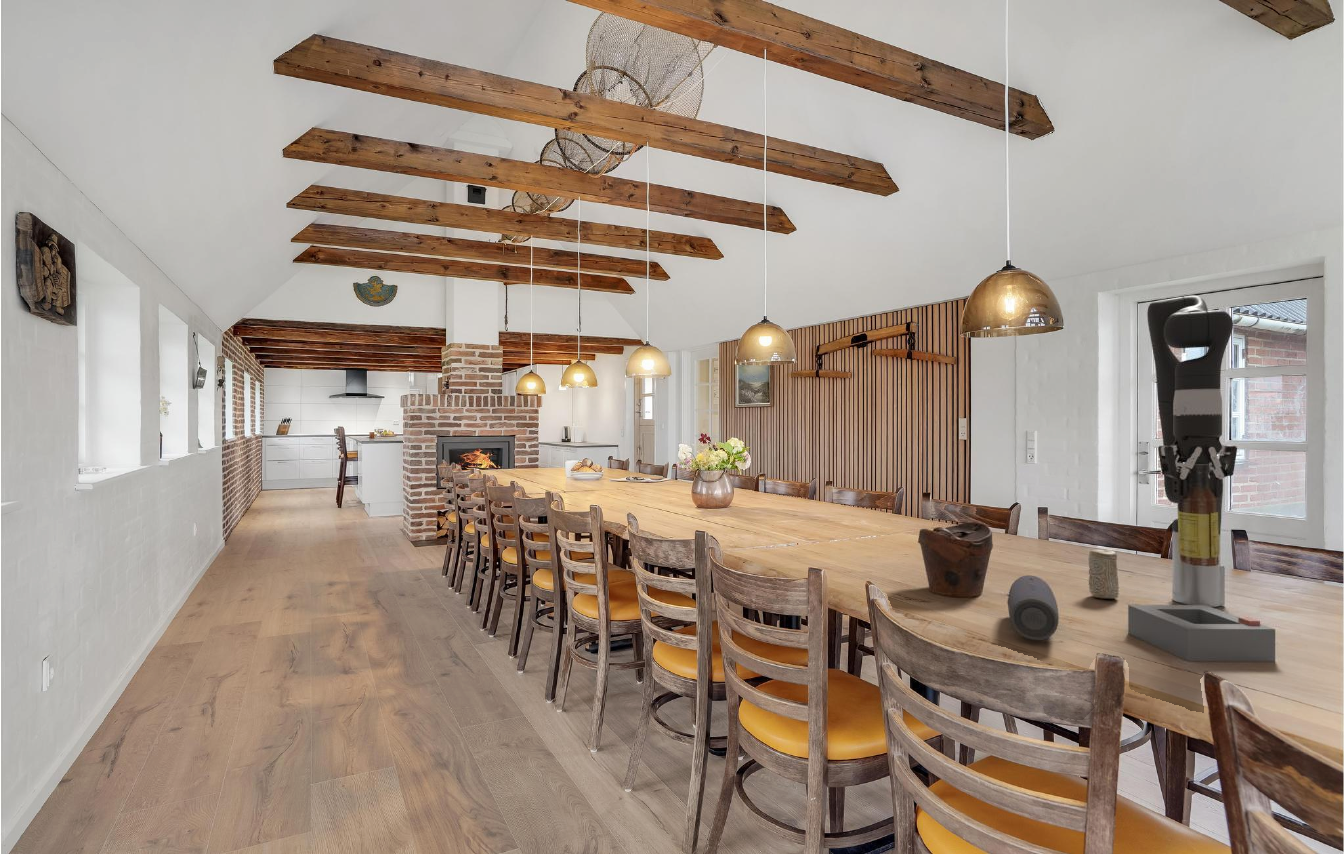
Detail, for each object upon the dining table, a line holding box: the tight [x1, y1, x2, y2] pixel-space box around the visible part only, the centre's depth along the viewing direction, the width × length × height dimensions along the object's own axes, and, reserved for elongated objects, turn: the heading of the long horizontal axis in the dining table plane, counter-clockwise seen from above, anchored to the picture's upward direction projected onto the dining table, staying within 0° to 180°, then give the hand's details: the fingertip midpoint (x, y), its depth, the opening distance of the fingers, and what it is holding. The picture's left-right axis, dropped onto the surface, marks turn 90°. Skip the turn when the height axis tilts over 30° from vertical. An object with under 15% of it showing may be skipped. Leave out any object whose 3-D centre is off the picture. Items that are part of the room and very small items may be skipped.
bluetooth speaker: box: [1007, 574, 1060, 641], centre depth 138 cm, size 23×9×10 cm, turn 152°
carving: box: [1088, 548, 1120, 600], centre depth 164 cm, size 6×8×12 cm
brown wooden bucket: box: [917, 521, 994, 598], centre depth 170 cm, size 18×20×18 cm
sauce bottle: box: [1177, 464, 1219, 566], centre depth 128 cm, size 7×6×20 cm
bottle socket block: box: [1127, 604, 1276, 663], centre depth 128 cm, size 16×16×7 cm
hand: (1197, 497), depth 128 cm, fingers closed on sauce bottle, 6 cm apart
